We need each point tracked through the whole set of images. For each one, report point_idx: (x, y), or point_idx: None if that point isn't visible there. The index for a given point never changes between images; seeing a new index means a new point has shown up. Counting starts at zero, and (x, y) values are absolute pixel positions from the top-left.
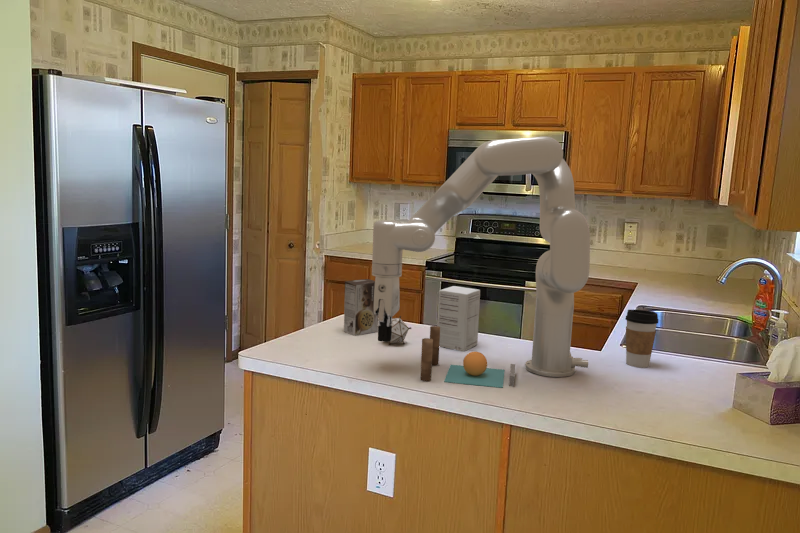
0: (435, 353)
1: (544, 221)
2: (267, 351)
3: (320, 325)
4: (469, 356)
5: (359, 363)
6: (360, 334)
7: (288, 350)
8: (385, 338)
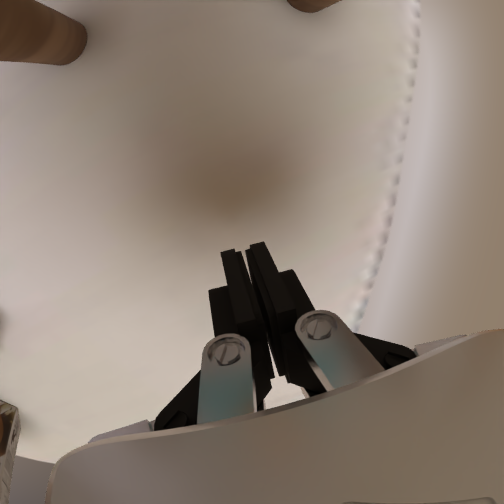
0: (61, 15)
1: None
2: None
3: (37, 459)
4: None
5: None
6: (1, 401)
7: None
8: (290, 272)
